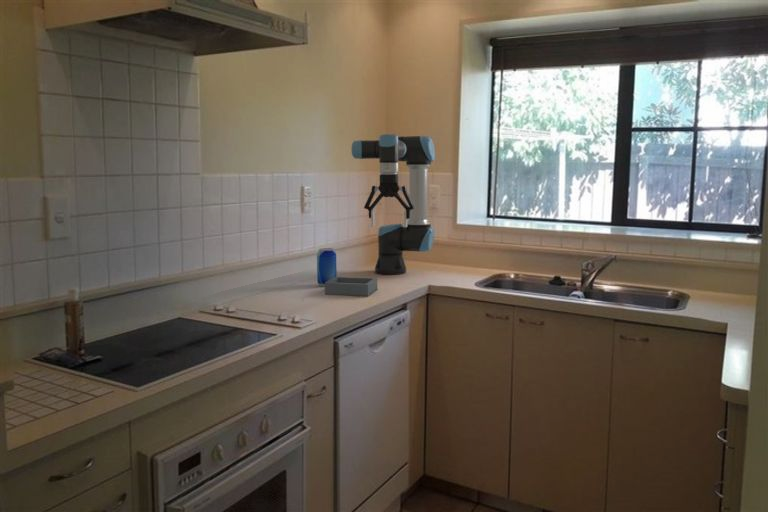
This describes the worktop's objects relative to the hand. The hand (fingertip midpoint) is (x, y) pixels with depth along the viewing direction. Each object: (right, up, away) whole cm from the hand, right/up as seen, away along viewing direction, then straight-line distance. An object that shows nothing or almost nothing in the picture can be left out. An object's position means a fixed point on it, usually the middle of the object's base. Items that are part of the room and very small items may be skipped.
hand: (389, 226), depth 266 cm
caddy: (-16, -27, +7) cm, 32 cm away
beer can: (-27, -25, +22) cm, 43 cm away
